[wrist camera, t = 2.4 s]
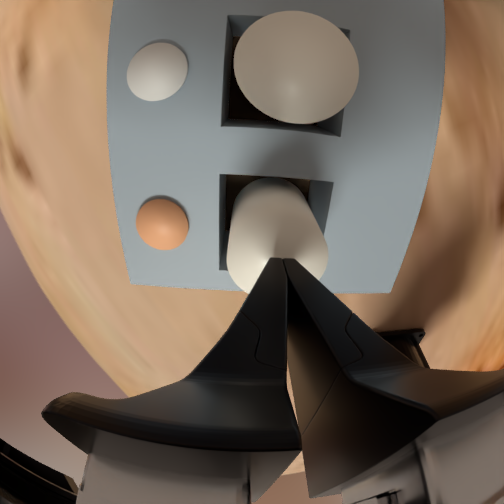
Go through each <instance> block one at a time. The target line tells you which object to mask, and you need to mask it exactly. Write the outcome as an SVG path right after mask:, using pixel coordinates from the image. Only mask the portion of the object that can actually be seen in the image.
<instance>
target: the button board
mask: <svg viewBox="0 0 504 504" xmlns="http://www.w3.org/2000/svg"><path fill="white" fill-rule="evenodd" d="M282 11H303V12H307V13H311V14H314V15H317V16H320V17H322V18H324V19H326V20H328V21H329V22H331V23H332V24H334V25H335V26H336V27H338V28H339V29H340V30H341V31H342V32H343V33H344V34H345V36H346V37H347V38H348V39H349V41H350V43H351V44H352V46H353V48H354V50H355V53H356V55H357V59H358V64H359V79H358V84H357V87H356V90H355V92H354V94H353V96H352V98H351V99H350V101H349V102H348V103H347V105H346V106H345V107H344V108H343V109H342V110H340V111H339V112H338V113H336V114H335V115H333V116H331V117H329V118H327V119H325V120H322V121H319V122H318V123H317V126H315V125H308V124H295V123H288V122H279V121H267V120H251V119H228V116H229V95H230V77H231V60H232V45H233V36H242V35H243V33H244V32H245V31H246V30H247V29H248V28H249V27H250V26H251V25H252V24H253V23H254V22H256V21H257V20H259V19H261V18H262V17H265V16H267V15H269V14H273V13H276V12H282ZM444 73H445V12H444V0H114V2H113V9H112V16H111V24H110V34H109V45H108V61H107V127H108V144H109V157H110V167H111V177H112V185H113V193H114V200H115V207H116V214H117V220H118V226H119V231H120V237H121V242H122V247H123V252H124V257H125V261H126V266H127V270H128V274H129V279H130V283H131V284H137V285H149V286H163V287H177V288H193V289H210V290H230V291H243V290H242V289H241V288H240V287H238V286H237V285H236V283H235V282H234V281H233V279H232V278H231V276H230V274H229V271H228V267H227V250H228V242H229V234H230V231H227V230H225V211H226V174H235V175H256V176H272V177H286V178H298V179H309V180H310V187H309V194H308V201H307V203H308V205H309V207H310V209H311V211H312V213H313V215H314V217H315V219H316V222H317V224H318V226H319V228H320V230H321V232H322V234H323V236H324V238H325V240H326V243H327V246H328V263H327V266H326V269H325V271H324V273H323V275H322V277H321V278H320V279H319V281H320V282H321V283H322V284H323V285H324V286H325V287H326V288H327V289H329V290H330V291H331V292H332V293H390V292H391V289H392V287H393V284H394V282H395V280H396V277H397V275H398V272H399V270H400V267H401V264H402V262H403V259H404V256H405V254H406V251H407V248H408V245H409V242H410V239H411V236H412V233H413V230H414V227H415V224H416V221H417V218H418V214H419V211H420V208H421V204H422V201H423V197H424V193H425V189H426V185H427V181H428V177H429V173H430V169H431V164H432V160H433V155H434V150H435V145H436V139H437V134H438V127H439V121H440V114H441V106H442V97H443V87H444Z"/></svg>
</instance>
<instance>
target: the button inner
mask: <svg viewBox="0 0 504 504" xmlns="http://www.w3.org/2000/svg"><path fill="white" fill-rule="evenodd" d="M270 257H276V258H282V259H283V258H294V259H296V260H297V261H298V262H299V263H300V264H301V265H302V266H303V267H305V268H306V269H307V270H308V271H309V272H310V273H311V274H312V275H313V276H314V277H315V278H317V279H318V280H319V279H320V278H321V277H322V275H323V273H324V271H325V269H326V266H327V263H328V246H327V243H326V240H325V238H324V236H323V234H322V232H321V230H320V228H319V226H318V224H317V222H316V219H315V217H314V215H313V213H312V211H311V209H310V207H309V205H308V203H307V201H306V199H305V197H304V195H303V194H302V192H301V191H300V190H299V189H298V188H297V187H296V186H295V185H294V184H292V183H291V182H289V181H287V180H284V179H281V178H275V177H267V178H261V179H258V180H255V181H253V182H251V183H249V184H248V185H247V186H245V187H244V188H243V189H242V190H241V191H240V193H239V194H238V195H237V197H236V199H235V202H234V205H233V211H232V219H231V226H230V234H229V242H228V250H227V267H228V271H229V274H230V276H231V278H232V279H233V281H234V282H235V283H236V285H237V286H238V287H240V288H241V289H242V290H243V291H245V292H246V293H248V294H249V293H250V291H251V289H252V288H253V286H254V284H255V282H256V281H257V279H258V277H259V275H260V274H261V272H262V270H263V268H264V267H265V265H266V263H267V261H268V260H269V258H270Z"/></svg>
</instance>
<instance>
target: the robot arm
mask: <svg viewBox="0 0 504 504" xmlns="http://www.w3.org/2000/svg"><path fill="white" fill-rule="evenodd" d="M424 335H425V331H424V329H415V330H405V331H395V332H383V333H376V332H375V331H373V330H372V329H371V328H370V327H369V326H368V325H366V324H365V323H364V322H363V321H362V320H361V319H360V318H359V317H358V316H357V315H356V314H354V313H352V311H351V310H350V309H349V308H348V307H347V306H346V305H345V304H344V303H343V302H341V301H340V300H339V299H338V298H337V297H336V296H335V295H334V294H333V293H332V292H331V291H330V290H329V289H327V288H326V287H325V286H324V285H323V284H322V283H321V282H320V281H319V280H318V279H317V278H315V277H314V276H313V275H312V274H311V273H310V272H309V271H308V270H307V269H306V268H305V267H303V266H302V265H301V264H300V263H299V262H298V261H297V260H296V259H294V258H283V259H282V258H276V257H270V258H269V260H268V261H267V263H266V265H265V267H264V268H263V270H262V272H261V274H260V275H259V277H258V279H257V281H256V282H255V284H254V286H253V288H252V289H251V291H250V293H249V295H248V296H247V298H246V300H245V302H244V303H243V305H242V307H241V308H240V310H239V312H238V313H237V315H236V317H235V318H234V320H233V322H232V323H231V325H230V326H229V328H228V329H227V331H226V332H225V333H224V335H223V336H222V337H221V338H220V340H219V341H218V342H217V343H216V345H215V346H214V347H213V348H212V349H211V350H210V351H209V353H208V354H207V355H206V356H205V357H204V358H203V360H202V361H201V362H200V363H199V364H198V365H197V366H196V368H195V369H194V370H193V371H192V372H191V373H190V374H189V375H188V376H186V377H185V378H184V379H182V380H180V381H178V382H175V383H173V384H170V385H167V386H164V387H161V388H158V389H155V390H152V391H149V392H146V393H143V394H140V395H137V396H134V397H130V398H125V399H104V398H99V397H95V396H91V395H88V394H83V393H78V392H71V393H68V394H66V395H63V396H60V397H58V398H56V399H54V400H53V401H51V402H50V403H49V404H48V405H46V407H45V408H44V409H43V411H42V412H41V414H42V417H43V418H44V420H45V421H46V422H47V423H48V424H49V425H50V426H51V427H53V428H54V429H55V430H56V431H57V432H59V433H60V434H61V435H62V436H64V437H65V438H66V439H67V440H69V441H70V442H72V443H73V444H74V445H75V446H77V447H78V448H79V449H81V450H82V451H84V452H85V453H86V454H88V456H87V461H86V465H85V469H84V474H83V478H82V483H81V484H80V485H79V489H78V487H77V485H76V484H75V482H74V480H73V479H72V478H70V477H69V476H66V475H65V474H63V473H60V472H58V471H56V470H54V469H52V468H50V467H48V466H46V465H44V464H42V463H40V462H38V461H36V460H34V459H33V458H31V457H29V456H27V455H26V454H24V453H22V452H20V451H19V450H17V449H15V448H14V447H12V446H11V445H9V444H8V443H6V442H5V441H3V440H2V439H1V438H0V504H251V502H256V501H257V500H258V499H259V498H260V497H261V496H262V495H263V494H264V493H265V491H267V490H268V488H269V487H270V486H271V485H272V484H273V483H274V482H275V481H276V480H277V478H279V477H280V475H281V474H282V473H283V472H284V471H285V470H286V469H287V468H288V466H289V465H290V464H291V463H292V462H293V460H294V459H295V458H296V457H297V456H298V454H299V453H300V452H301V451H302V452H303V459H304V465H305V472H306V478H307V485H308V491H309V498H316V497H323V496H329V495H335V494H341V496H342V504H504V369H501V370H497V371H488V372H475V371H454V370H439V369H430V367H429V365H428V363H427V361H426V358H425V356H424V354H423V352H422V350H421V348H420V346H419V343H420V341H421V340H422V338H423V337H424ZM287 361H288V367H289V372H290V378H291V384H292V390H293V396H294V402H295V408H296V414H297V420H298V424H297V420H296V417H295V414H294V410H293V407H292V403H291V400H290V397H289V393H288V390H287V373H286V372H287Z"/></svg>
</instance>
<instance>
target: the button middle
mask: <svg viewBox="0 0 504 504" xmlns="http://www.w3.org/2000/svg"><path fill="white" fill-rule="evenodd" d="M234 72H235V77H236V80H237V83H238V85H239V87H240V89H241V91H242V92H243V94H244V95H245V97H246V98H247V99H248V100H249V101H250V103H252V104H253V105H254V106H255V107H256V108H257V109H259V110H260V111H261V112H263V113H264V114H266V115H268V116H270V117H272V118H275V119H277V120H280V121H284V122H288V123H295V124H307V123H314V122H319V121H322V120H325V119H327V118H329V117H331V116H333V115H335V114H336V113H338V112H339V111H340V110H342V109H343V108H344V107H345V106H346V105H347V103H348V102H349V101H350V99H351V98H352V96H353V94H354V92H355V90H356V87H357V84H358V79H359V64H358V59H357V55H356V53H355V50H354V48H353V46H352V44H351V43H350V41H349V39H348V38H347V37H346V36H345V34H344V33H343V32H342V31H341V30H340V29H339V28H338V27H336V26H335V25H334V24H332V23H331V22H329V21H328V20H326V19H324V18H322V17H320V16H317V15H314V14H311V13H307V12H303V11H282V12H276V13H273V14H269V15H267V16H265V17H262V18H261V19H259V20H257V21H256V22H254V23H253V24H252V25H251V26H250V27H249V28H248V29H247V30H246V31H245V32H244V33H243V35H242V36H241V38H240V40H239V42H238V44H237V46H236V49H235V53H234Z"/></svg>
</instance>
